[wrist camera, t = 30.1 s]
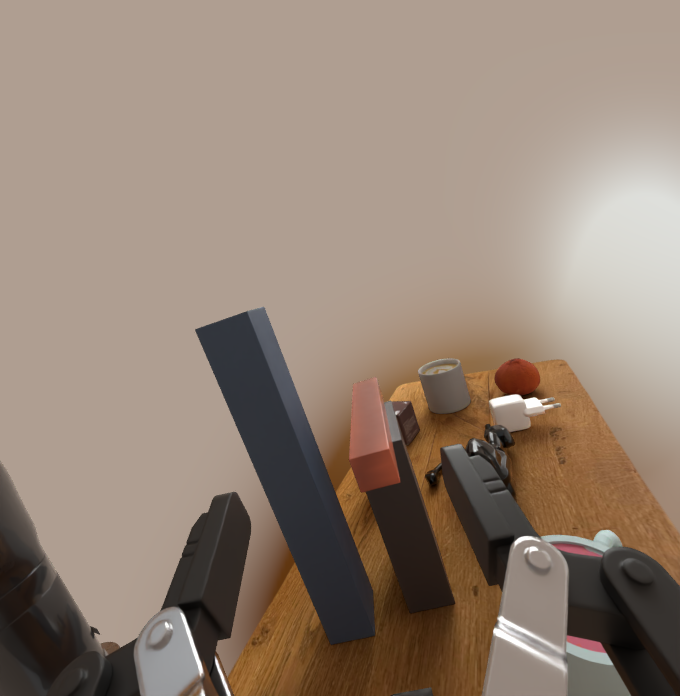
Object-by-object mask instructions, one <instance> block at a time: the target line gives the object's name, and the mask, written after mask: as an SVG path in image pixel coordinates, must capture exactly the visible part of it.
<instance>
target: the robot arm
mask: <svg viewBox="0 0 680 696" xmlns="http://www.w3.org/2000/svg"><path fill="white" fill-rule="evenodd" d="M440 452H441V462H442V473H443V479H444V483H445V486H446V489H447V492H448V494H449V497H450V499H451V501H452V503H453V506H454V508H455V510H456V512H457V515H458V517H459V519H460V521H461V524H462V526H463V528H464V530H465V533H466V535H467V537H468V539H469V542H470V544H471V546H472V549H473V551H474V553H475V555H476V558H477V560H478V562H479V564H480V567H481V569H482V571H483V573H484V576H485V578H486V580H487V582H488V585H489V586H492V585H497V584H499V586H500V588H501V590H502V598H501V603H500V609H499V614H498V619H497V622H496V624H495V627H494V632H493V637H492V642H491V648H490V653H489V659H488V664H487V670H486V675H485V681H484V687H483V692H482V696H567V694H568V661H567V657H566V647H567V635H568V636H573V637H578V638H582V639H587V640H592V641H596V642H600V643H601V645H602V646H603V648H604V650H605V651H606V653H607V655H608V657H609V658H610V660H611V662H612V663H613V665H614V667H615V669H616V670H617V672H618V674H619V675H620V677H621V679H622V681H623V682H624V684H625V686H626V688H627V689H628V691H629V693H630V694H631V696H680V586H679V585H678V584H677V583H676V581H675V580H674V579H673V578H672V577H671V576H670V575H669V573H668V572H667V571H666V570H665V569H664V568H663V567H662V566H661V565H660V564H659V563H658V562H656V561H655V560H654V559H652V558H651V557H649V556H648V555H646V554H644V553H642V552H640V551H638V550H635V549H632V548H628V547H621V546H619V547H612V548H609V549H607V550H606V551H605V552H604V554H603V556H602V557H597V556H590V555H582V554H575V553H569V552H565V551H562V550H560V549H557V548H556V547H554V546H553V545H552V544H550V543H549V542H547V541H545V540H543V539H542V538H541V537H540V536H539V535H538V534H537V533H536V532H535V530H534V529H533V527H532V526H531V524H530V523H529V521H528V520H527V518H526V517H525V515H524V514H523V512H522V511H521V509H520V507H519V506H518V504H517V503H516V501H515V500H514V498H513V497H512V495H511V494H510V492H509V491H508V490H507V488H506V486H505V484H504V483H503V481H502V480H501V479H500V477H499V475H498V474H497V472H496V471H495V469H494V468H493V466H492V465H491V464H490V463H489V462H487V461H486V460H485V459H483V458H482V457H481V456H480V455H477V456H472V457H469V456H468V455H467V453H466V451H465V449H464V448H463V446H462V445H461V444H456V445H451V446H446V447H442V448H441V449H440ZM250 535H251V521H250V517H249V515H248V513H247V511H246V509H245V507H244V506H243V504H242V501H241V500H240V498H239V496H238V494H237V493H236V492H231V493H227V494H222V495H217V496H215V497H214V498H213V500H212V503H211V506H210V509H209V511H208V513H203V514H202V515H201V516H200V517H199V519H198V520H197V522H196V523H195V524H194V526H193V527H192V529H191V532H190V535H189V537H188V540H187V545H186V546H185V548H184V550H183V553H182V558H181V559H180V561H179V564H178V566H177V569H176V572H175V574H174V577H173V580H172V582H171V585H170V588H169V590H168V593H167V596H166V598H165V601H164V604H163V606H162V608H161V610H160V612H158V613H157V614H156V615H154V616H153V617H152V618H151V619H150V620H149V621H148V623H147V624H146V625H145V626H144V628H143V629H142V631H141V633H140V634H139V636H138V638H136V639H135V640H133V641H132V642H130V643H128V644H126V645H125V646H123V647H121V648H119V649H118V650H116V651H114V652H112V653H110V654H109V655H108V654H107V652H106V650H105V649H103V648H102V646H101V644H100V643H99V641H98V640H97V638H96V636H95V634H94V632H95V633H97V634H100V633H99V632H98V630H97V629H96V628H94V627H91V626H89V624H88V622H87V621H86V619H85V617H84V616H83V614H82V612H81V611H80V609H79V608H78V606H77V604H76V603H75V601H74V599H73V598H72V596H71V594H70V593H69V591H68V589H67V588H66V586H65V584H64V583H63V581H62V579H61V578H60V576H59V574H58V573H57V571H56V570H55V568H54V566H53V565H52V563H51V562H50V560H49V558H48V556H47V555H46V553H45V552H44V550H43V548H42V546H41V545H40V542H39V539H38V535H37V532H36V528H35V526H34V523H33V521H32V519H31V517H30V515H29V514H28V512H27V510H26V508H25V506H24V504H23V502H22V500H21V498H20V496H19V494H18V492H17V490H16V488H15V486H14V484H13V481H12V479H11V477H10V475H9V474H8V472H7V470H6V468H5V467H4V466H3V464H2V463H1V461H0V696H234V694H233V691H232V689H231V686H230V684H229V681H228V679H227V676H226V673H225V671H224V668H223V666H222V663H221V661H220V658H219V656H218V654H217V652H216V646H217V641H218V640H223V639H227V638H230V637H231V632H232V627H233V621H234V616H235V611H236V606H237V601H238V596H239V591H240V586H241V581H242V576H243V571H244V565H245V560H246V555H247V550H248V545H249V540H250ZM391 696H433V693H432V689H431V687H430V688H425V689H420V690H414V691H409V692H403V693H398V694H393V695H391Z"/></svg>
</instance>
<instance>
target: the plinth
mask: <svg viewBox="0 0 680 696" xmlns="http://www.w3.org/2000/svg"><path fill="white" fill-rule="evenodd" d="M384 405H385V409H386V414H387V419H388V424H389V429H390V433H391V438H392V443H393V448H394V453H395V457H396V462H397V467H398V472H399V477H400V483H397V484H393V485H389V486H385V487H381V488H378V489H374V490H370V491H366V494H367V496H368V499H369V502H370V505H371V507H372V510H373V513H374V516H375V518H376V521H377V524H378V527H379V529H380V532H381V535H382V538H383V540H384V543H385V546H386V549H387V552H388V554H389V557H390V560H391V563H392V565H393V568H394V571H395V574H396V576H397V579H398V582H399V585H400V587H401V590H402V593H403V596H404V598H405V601H406V604H407V607H408V609H409V612H410V613H414V612H419V611H423V610H428V609H433V608H438V607H442V606H447V605H452V604H455V601H454V597H453V594H452V591H451V587H450V584H449V581H448V577H447V574H446V571H445V567H444V564H443V561H442V557H441V554H440V551H439V547H438V544H437V541H436V537H435V534H434V531H433V528H432V525H431V522H430V519H429V516H428V512H427V509H426V506H425V503H424V500H423V497H422V494H421V491H420V488H419V485H418V482H417V479H416V476H415V473H414V470H413V466H412V463H411V460H410V457H409V454H408V451H407V448H406V445H405V442H404V439H403V436H402V433H401V430H400V427H399V424H398V420H397V417H396V414H395V411H394V408H393V405H392V402H391V401H388V402H385V403H384Z"/></svg>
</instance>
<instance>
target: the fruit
mask: <svg viewBox="0 0 680 696" xmlns="http://www.w3.org/2000/svg"><path fill="white" fill-rule="evenodd" d="M495 383H496V385H497V386H498V388H499V389H500V390H501V391H502V392H504V393H507V394H510V395H515V394H517V395H525V394H529V393H531V392H533V391H534V390H535V389H536V388H537V387H538V385H539V383H540V376H539V372H538V370H537V369H536V367H535V366H534V365H533V364H531V363H530V362H528V361H525V360H522V359H511V360H509V361H507V362H505V363H504V364H502V365H501V366H500V367H499V369H498V370H497V372H496V374H495Z"/></svg>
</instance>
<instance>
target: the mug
mask: <svg viewBox="0 0 680 696" xmlns="http://www.w3.org/2000/svg"><path fill="white" fill-rule="evenodd" d="M541 538H542V539H543V540H545V541H547V542H549V543H550V544H552V545H553V546H554V547H556V548H557V549H560V550H562V551H565V552H569V553H575V554H582V555H590V556H597V557H602V556H603V554H604V552H605V551H606V550H607V549H609V548H612V547H619V546H621V547H622V544H621V542H620V540H619V538H618V537H617V536H616V535H615V534H614V533H613V532H612V531H609V530H601V531H599V532H598V533H597V535H596V536H595V538H594V540H593V541H591V540H588V539H584V538H580V537H575V536H567V535H550V536H543V537H541ZM566 657H567V661H568V694H567V696H631V694H630V693H629V691H628V689H627V688H626V686H625V684H624V682H623V681H622V679H621V677H620V675H619V674H618V672H617V670H616V669H615V667H614V665H613V663H612V662H611V660H610V658H609V657H608V655H607V653H606V651H605V650H604V648H603V646H602V645H601V643H600V642H596V641H592V640H587V639H582V638H578V637H573V636H568V635H567V647H566Z"/></svg>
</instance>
